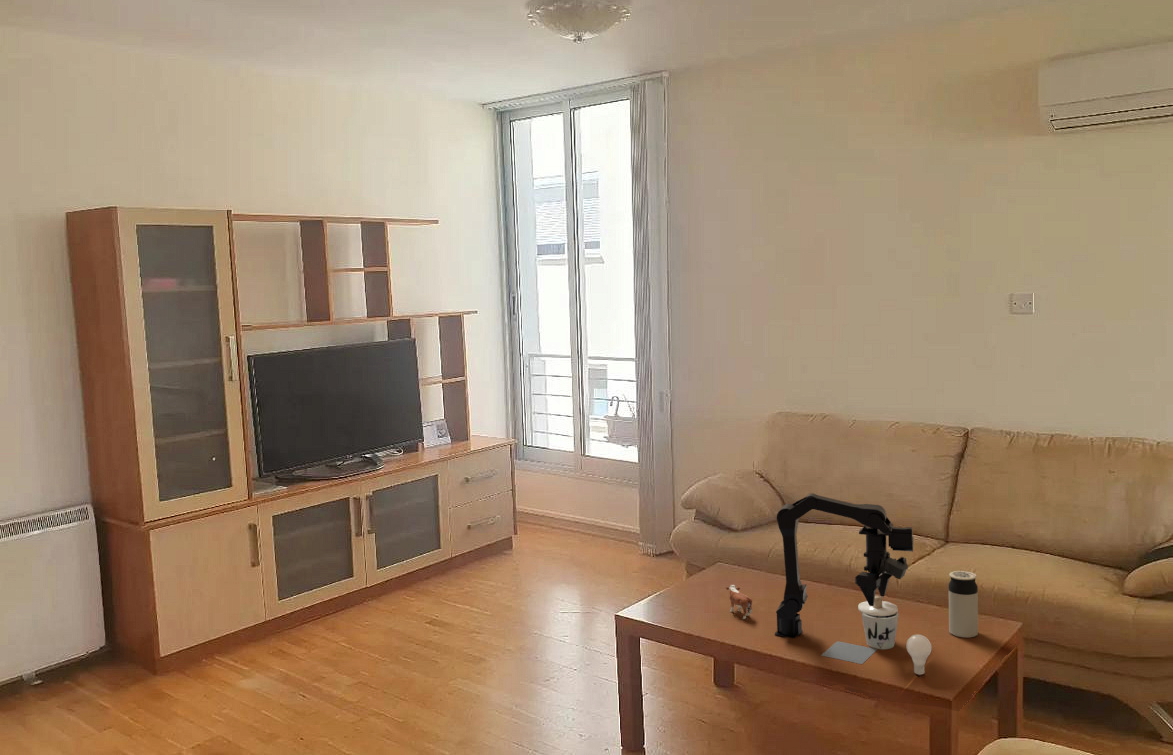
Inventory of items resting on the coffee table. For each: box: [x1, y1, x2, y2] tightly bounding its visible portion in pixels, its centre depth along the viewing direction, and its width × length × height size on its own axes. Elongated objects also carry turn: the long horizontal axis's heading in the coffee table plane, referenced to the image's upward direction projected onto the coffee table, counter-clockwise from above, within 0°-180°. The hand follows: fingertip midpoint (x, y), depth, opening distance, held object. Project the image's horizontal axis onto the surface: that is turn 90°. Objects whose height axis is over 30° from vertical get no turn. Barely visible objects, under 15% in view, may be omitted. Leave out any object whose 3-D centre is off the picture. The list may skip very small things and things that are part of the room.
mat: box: [820, 640, 878, 665], centre depth 263 cm, size 12×12×1 cm
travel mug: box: [948, 570, 979, 639], centre depth 273 cm, size 8×8×18 cm
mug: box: [860, 611, 900, 650], centre depth 270 cm, size 10×15×10 cm
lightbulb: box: [905, 634, 932, 676], centre depth 247 cm, size 6×6×11 cm
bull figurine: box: [725, 584, 753, 620], centre depth 298 cm, size 4×13×8 cm, turn 18°
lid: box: [857, 594, 899, 616], centre depth 269 cm, size 11×11×4 cm
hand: (877, 601), depth 269 cm, fingers open, 9 cm apart
